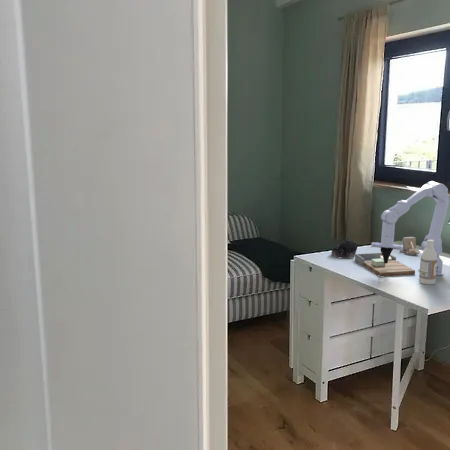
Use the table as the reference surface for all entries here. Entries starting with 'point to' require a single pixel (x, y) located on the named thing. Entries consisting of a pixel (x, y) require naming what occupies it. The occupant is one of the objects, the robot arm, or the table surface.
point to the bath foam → (428, 264)
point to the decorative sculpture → (409, 246)
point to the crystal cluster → (345, 249)
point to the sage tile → (378, 262)
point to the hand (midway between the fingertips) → (385, 262)
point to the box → (369, 257)
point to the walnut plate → (390, 269)
